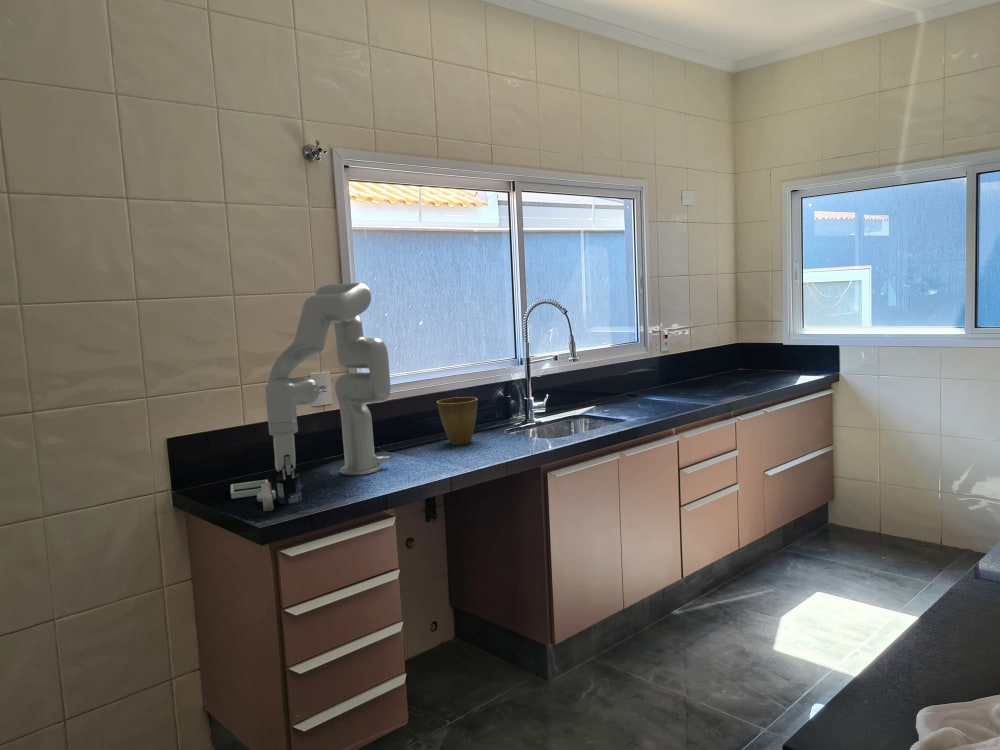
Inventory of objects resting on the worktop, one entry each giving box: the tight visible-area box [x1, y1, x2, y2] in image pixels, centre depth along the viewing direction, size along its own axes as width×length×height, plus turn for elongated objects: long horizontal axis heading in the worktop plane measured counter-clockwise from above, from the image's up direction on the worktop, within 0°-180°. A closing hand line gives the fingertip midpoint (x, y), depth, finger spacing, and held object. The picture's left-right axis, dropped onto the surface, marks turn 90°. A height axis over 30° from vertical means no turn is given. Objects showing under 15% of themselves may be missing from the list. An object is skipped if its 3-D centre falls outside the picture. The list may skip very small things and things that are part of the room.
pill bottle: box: [276, 464, 303, 505], centre depth 204 cm, size 6×6×11 cm
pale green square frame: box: [230, 479, 269, 500], centre depth 217 cm, size 10×10×3 cm
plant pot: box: [436, 396, 478, 446], centre depth 273 cm, size 15×15×16 cm
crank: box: [256, 481, 277, 512], centre depth 203 cm, size 15×5×7 cm, turn 20°
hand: (288, 489), depth 204 cm, fingers open, 9 cm apart
